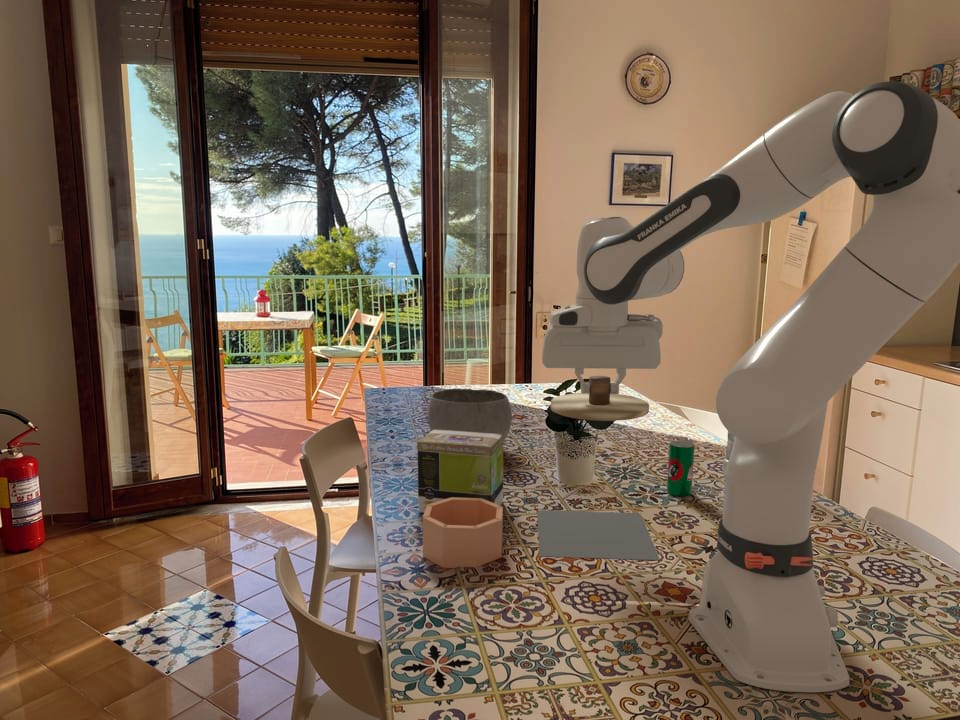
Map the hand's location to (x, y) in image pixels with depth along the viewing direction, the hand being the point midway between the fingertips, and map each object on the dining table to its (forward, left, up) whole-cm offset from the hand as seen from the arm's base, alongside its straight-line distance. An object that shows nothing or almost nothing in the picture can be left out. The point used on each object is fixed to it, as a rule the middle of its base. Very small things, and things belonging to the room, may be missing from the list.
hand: (599, 393), depth 123 cm
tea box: (+11, +25, -27) cm, 38 cm away
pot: (-8, +23, -26) cm, 36 cm away
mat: (0, 0, -26) cm, 26 cm away
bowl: (+47, +26, -27) cm, 60 cm away
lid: (0, 0, -3) cm, 3 cm away
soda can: (+22, -20, -27) cm, 40 cm away
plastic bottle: (+32, -35, -27) cm, 54 cm away
